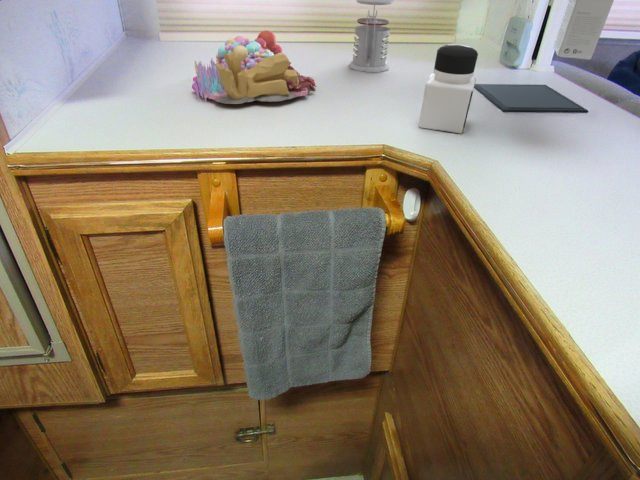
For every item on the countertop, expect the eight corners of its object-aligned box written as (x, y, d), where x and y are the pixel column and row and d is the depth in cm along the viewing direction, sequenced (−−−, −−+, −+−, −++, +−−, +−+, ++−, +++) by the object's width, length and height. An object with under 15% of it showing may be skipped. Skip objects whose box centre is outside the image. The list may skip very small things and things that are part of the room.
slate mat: (544, 86, 90) (545, 84, 90) (587, 112, 78) (588, 109, 77) (472, 85, 89) (472, 83, 89) (503, 112, 77) (503, 109, 76)
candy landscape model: (335, 97, 80) (338, 45, 75) (216, 117, 70) (209, 58, 65) (277, 66, 98) (276, 22, 92) (175, 78, 88) (167, 29, 82)
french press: (390, 62, 103) (405, -63, 89) (388, 75, 94) (404, -63, 79) (350, 59, 105) (359, -65, 90) (344, 72, 95) (352, -65, 81)
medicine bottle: (462, 134, 67) (481, 54, 60) (417, 127, 69) (431, 48, 62) (466, 120, 73) (484, 44, 66) (424, 113, 74) (437, 40, 67)
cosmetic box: (591, 60, 55) (634, -50, 48) (556, 57, 57) (593, -52, 49) (584, 50, 60) (622, -52, 53) (552, 47, 61) (584, -53, 54)
